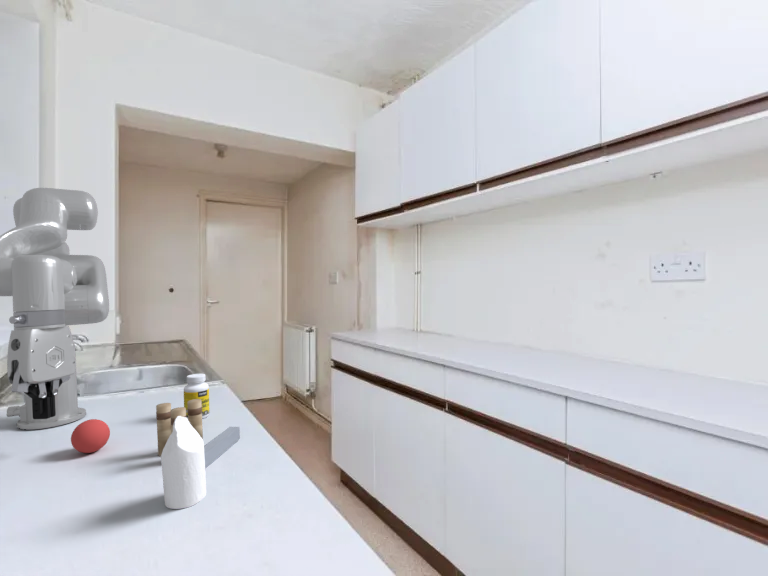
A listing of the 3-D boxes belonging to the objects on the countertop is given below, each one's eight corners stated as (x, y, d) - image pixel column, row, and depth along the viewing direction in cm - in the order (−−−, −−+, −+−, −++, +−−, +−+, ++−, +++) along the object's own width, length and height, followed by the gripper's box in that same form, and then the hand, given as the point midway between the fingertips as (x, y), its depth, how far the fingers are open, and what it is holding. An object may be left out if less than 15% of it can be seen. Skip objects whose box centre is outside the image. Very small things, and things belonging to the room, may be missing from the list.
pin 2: (187, 451, 76) (185, 403, 76) (190, 446, 79) (188, 399, 78) (202, 449, 77) (200, 402, 77) (204, 444, 79) (202, 398, 79)
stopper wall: (189, 472, 68) (188, 457, 68) (230, 439, 82) (229, 426, 82) (200, 472, 68) (199, 457, 67) (239, 439, 81) (239, 426, 81)
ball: (64, 460, 74) (63, 427, 74) (81, 447, 80) (79, 416, 80) (102, 456, 75) (101, 423, 75) (115, 443, 81) (114, 413, 81)
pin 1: (170, 463, 71) (168, 412, 71) (174, 457, 74) (172, 407, 73) (186, 461, 72) (184, 410, 72) (189, 455, 74) (187, 406, 74)
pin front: (156, 456, 74) (154, 407, 74) (160, 451, 77) (158, 403, 76) (171, 455, 75) (169, 406, 75) (174, 449, 77) (172, 402, 77)
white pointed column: (193, 422, 56) (151, 424, 56) (197, 508, 57) (155, 511, 56) (209, 408, 62) (170, 410, 62) (212, 486, 63) (174, 489, 62)
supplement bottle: (200, 421, 93) (198, 378, 93) (179, 420, 94) (177, 377, 94) (214, 413, 98) (213, 372, 98) (194, 412, 99) (193, 372, 99)
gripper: (18, 322, 70) (22, 431, 70) (90, 317, 85) (94, 406, 84) (-21, 324, 71) (-16, 431, 70) (58, 319, 86) (61, 407, 85)
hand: (44, 417), depth 77 cm, fingers closed
